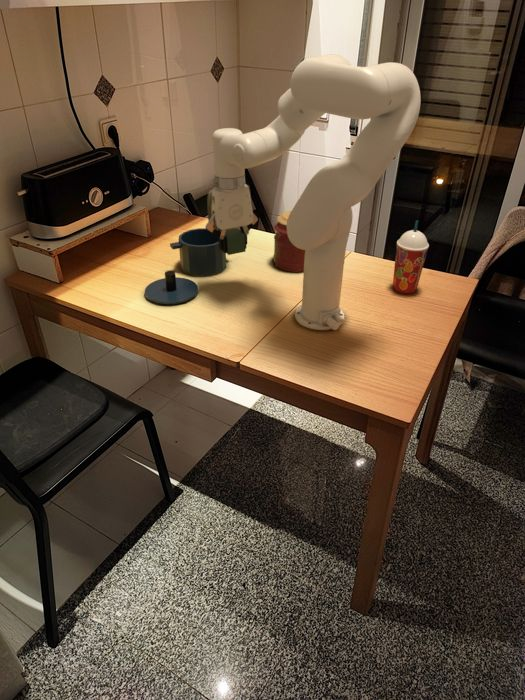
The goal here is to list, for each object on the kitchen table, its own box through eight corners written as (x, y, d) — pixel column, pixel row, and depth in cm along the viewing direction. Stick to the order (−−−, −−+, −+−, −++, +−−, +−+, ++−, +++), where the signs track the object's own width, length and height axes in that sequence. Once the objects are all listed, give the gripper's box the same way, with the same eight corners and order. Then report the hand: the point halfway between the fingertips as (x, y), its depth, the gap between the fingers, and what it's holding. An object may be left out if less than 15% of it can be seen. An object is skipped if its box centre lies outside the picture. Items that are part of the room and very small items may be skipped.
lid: (206, 299, 141) (204, 278, 137) (154, 310, 135) (151, 289, 132) (187, 277, 151) (186, 257, 148) (139, 287, 146) (136, 267, 143)
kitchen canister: (324, 266, 158) (328, 209, 148) (290, 276, 152) (292, 218, 142) (298, 251, 167) (301, 197, 157) (265, 260, 161) (265, 205, 151)
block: (245, 251, 140) (244, 234, 137) (228, 255, 138) (227, 237, 135) (238, 245, 144) (237, 228, 141) (221, 248, 142) (220, 231, 139)
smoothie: (424, 288, 147) (439, 220, 135) (409, 299, 142) (423, 229, 130) (399, 279, 151) (410, 213, 140) (383, 289, 146) (394, 221, 135)
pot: (241, 269, 156) (241, 239, 150) (181, 282, 149) (178, 251, 143) (223, 252, 166) (222, 224, 160) (166, 263, 159) (163, 234, 153)
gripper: (203, 190, 125) (209, 260, 135) (266, 180, 131) (267, 248, 141) (193, 182, 130) (199, 250, 140) (254, 173, 136) (255, 239, 147)
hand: (233, 248), depth 141 cm, fingers closed on block, 5 cm apart
